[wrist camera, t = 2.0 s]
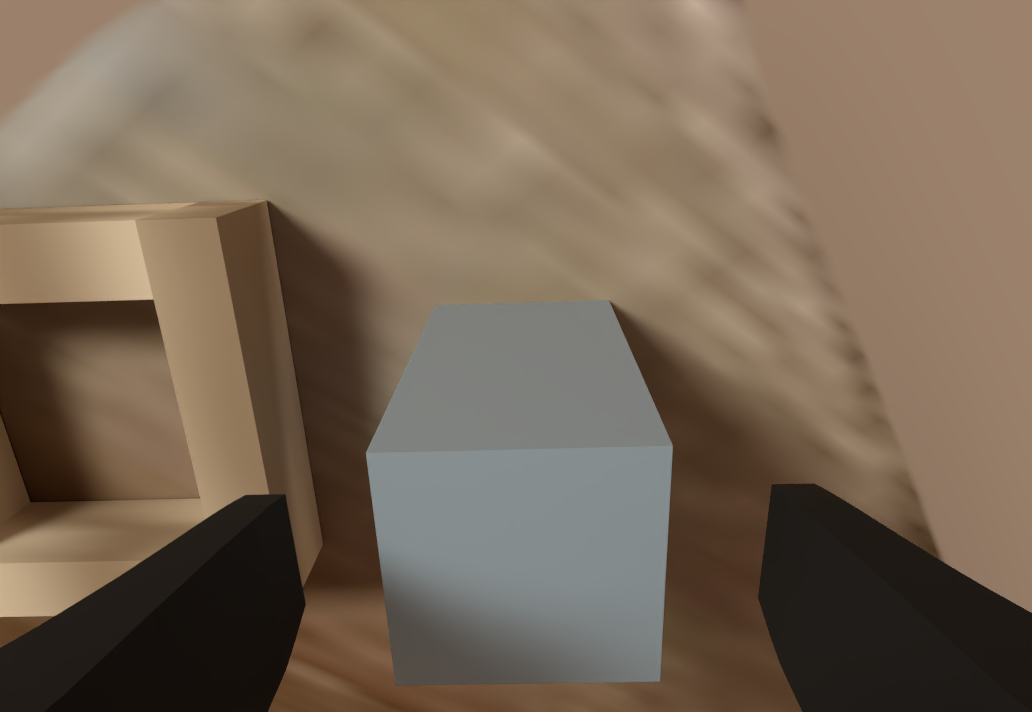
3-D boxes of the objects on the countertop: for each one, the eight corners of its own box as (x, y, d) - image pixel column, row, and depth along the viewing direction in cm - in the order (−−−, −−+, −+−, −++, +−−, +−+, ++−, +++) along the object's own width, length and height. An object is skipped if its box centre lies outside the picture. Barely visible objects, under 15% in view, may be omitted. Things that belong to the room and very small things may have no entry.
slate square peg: (447, 457, 17) (395, 685, 10) (435, 305, 15) (365, 452, 9) (606, 453, 16) (659, 681, 10) (608, 300, 15) (672, 445, 8)
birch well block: (-8, 550, 18) (-90, 618, 15) (-136, 213, 14) (-263, 233, 12) (322, 544, 17) (291, 611, 15) (266, 200, 14) (215, 217, 12)
